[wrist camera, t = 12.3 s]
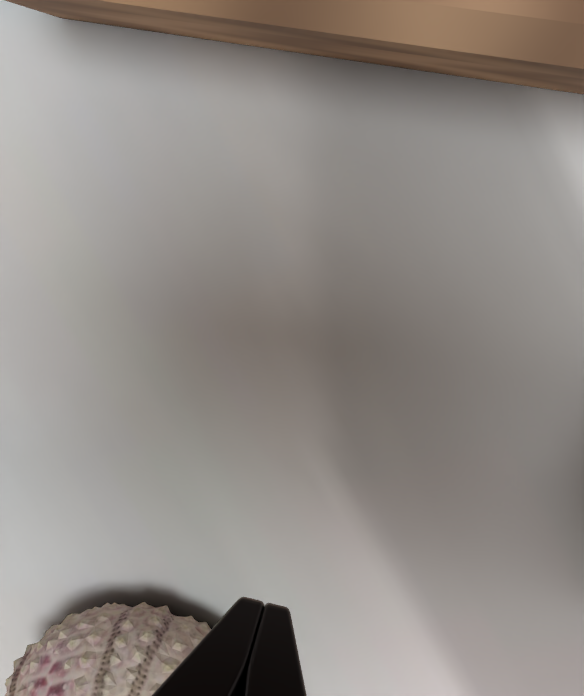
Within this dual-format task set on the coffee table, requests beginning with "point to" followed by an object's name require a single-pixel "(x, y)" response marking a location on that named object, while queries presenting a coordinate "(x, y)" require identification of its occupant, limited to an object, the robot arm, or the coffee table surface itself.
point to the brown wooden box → (375, 31)
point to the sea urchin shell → (107, 653)
